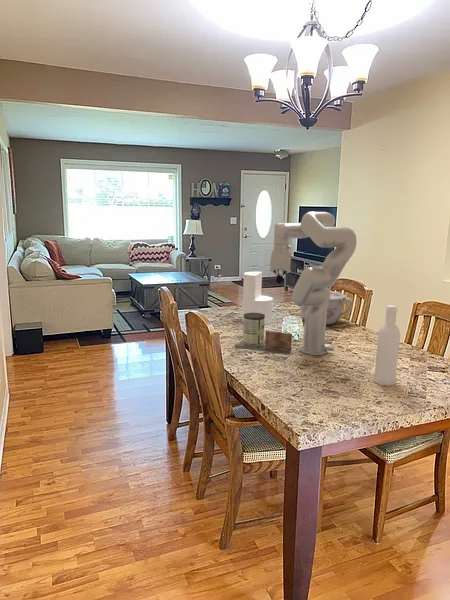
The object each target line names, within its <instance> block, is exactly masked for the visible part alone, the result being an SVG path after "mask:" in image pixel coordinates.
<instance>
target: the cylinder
mask: <svg viewBox="0 0 450 600" xmlns="http://www.w3.org/2000/svg"><path fill="white" fill-rule="evenodd" d="M262 284H263V271H246V272H244V273H243V284H242V285H243V287H242V289H243V290H242V291H243V292H242V316H241V317H242V318H241V321H242V322H243V323H244V314H246V313H261V314H264V315H265V319H264V326H266V325H270V324H272V323H273V307H274V305H273V304H274V298H273V297H272V296H268V295H262Z"/></svg>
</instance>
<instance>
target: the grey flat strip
mask: <svg viewBox="0 0 450 600" xmlns="http://www.w3.org/2000/svg"><path fill="white" fill-rule="evenodd" d="M235 348H240V349H248V350H249V349H250V350H256V351H264V352H272V353H273V352H274V353H281V354H288V355H289V354H290V353H291V351H290V352H289V351H280V350H272V349H265V346H263V345H260V346H255V345H247V344H244V343H237V344H235Z"/></svg>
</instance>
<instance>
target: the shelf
mask: <svg viewBox="0 0 450 600" xmlns="http://www.w3.org/2000/svg"><path fill="white" fill-rule="evenodd" d="M292 340H293V333H290V332H289V333H288V332H280V331H271V330H266V331H265V338H264V343H265V345H264V347H265V349H272V350H280V351H289V352H290V353H291V351H292V348H293V347H292Z"/></svg>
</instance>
